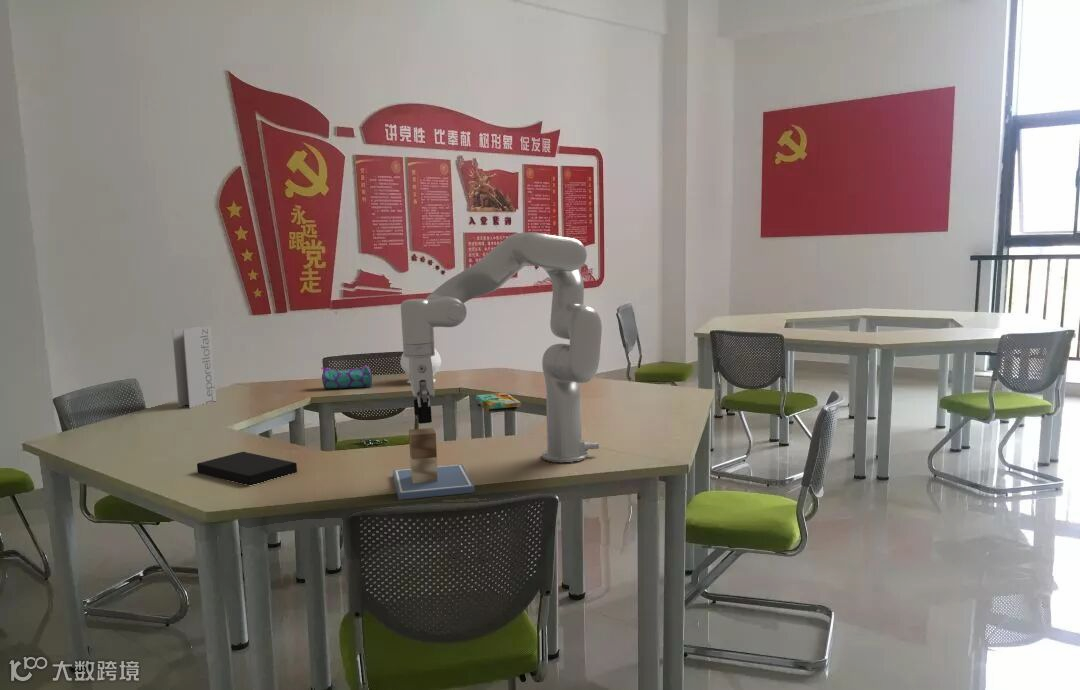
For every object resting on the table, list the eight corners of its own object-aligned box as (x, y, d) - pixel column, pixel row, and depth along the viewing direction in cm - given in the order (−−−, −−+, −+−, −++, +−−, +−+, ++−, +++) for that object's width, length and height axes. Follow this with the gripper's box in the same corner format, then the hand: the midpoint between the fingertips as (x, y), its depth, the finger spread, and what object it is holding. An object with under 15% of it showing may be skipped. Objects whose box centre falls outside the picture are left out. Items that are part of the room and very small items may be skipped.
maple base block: (434, 474, 195) (433, 451, 195) (437, 481, 190) (436, 457, 189) (410, 476, 194) (409, 453, 193) (412, 483, 188) (411, 459, 187)
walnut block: (433, 451, 195) (433, 427, 194) (436, 457, 189) (435, 433, 188) (409, 453, 193) (408, 429, 192) (412, 459, 187) (410, 435, 187)
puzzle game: (505, 390, 292) (521, 400, 274) (506, 402, 293) (521, 413, 274) (475, 393, 289) (489, 402, 270) (476, 405, 289) (489, 416, 271)
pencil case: (372, 385, 338) (371, 363, 337) (372, 388, 330) (371, 366, 328) (322, 388, 333) (321, 366, 332) (322, 391, 325) (320, 368, 324)
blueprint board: (462, 469, 204) (462, 463, 204) (474, 492, 185) (474, 485, 185) (393, 476, 200) (393, 470, 200) (398, 499, 181) (398, 493, 180)
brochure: (189, 408, 294) (183, 330, 291) (178, 407, 296) (172, 330, 292) (216, 401, 308) (210, 326, 304) (205, 400, 310) (199, 326, 306)
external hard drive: (250, 487, 194) (249, 476, 194) (197, 474, 207) (196, 463, 207) (297, 473, 206) (296, 462, 205) (244, 461, 219) (243, 451, 218)
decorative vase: (407, 378, 352) (405, 324, 349) (445, 378, 350) (443, 323, 347) (396, 385, 335) (393, 328, 332) (436, 385, 333) (434, 327, 330)
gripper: (438, 353, 180) (442, 425, 183) (430, 344, 197) (434, 410, 199) (406, 355, 179) (410, 428, 181) (400, 346, 195) (405, 412, 197)
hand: (423, 418), depth 190 cm, fingers open, 9 cm apart
